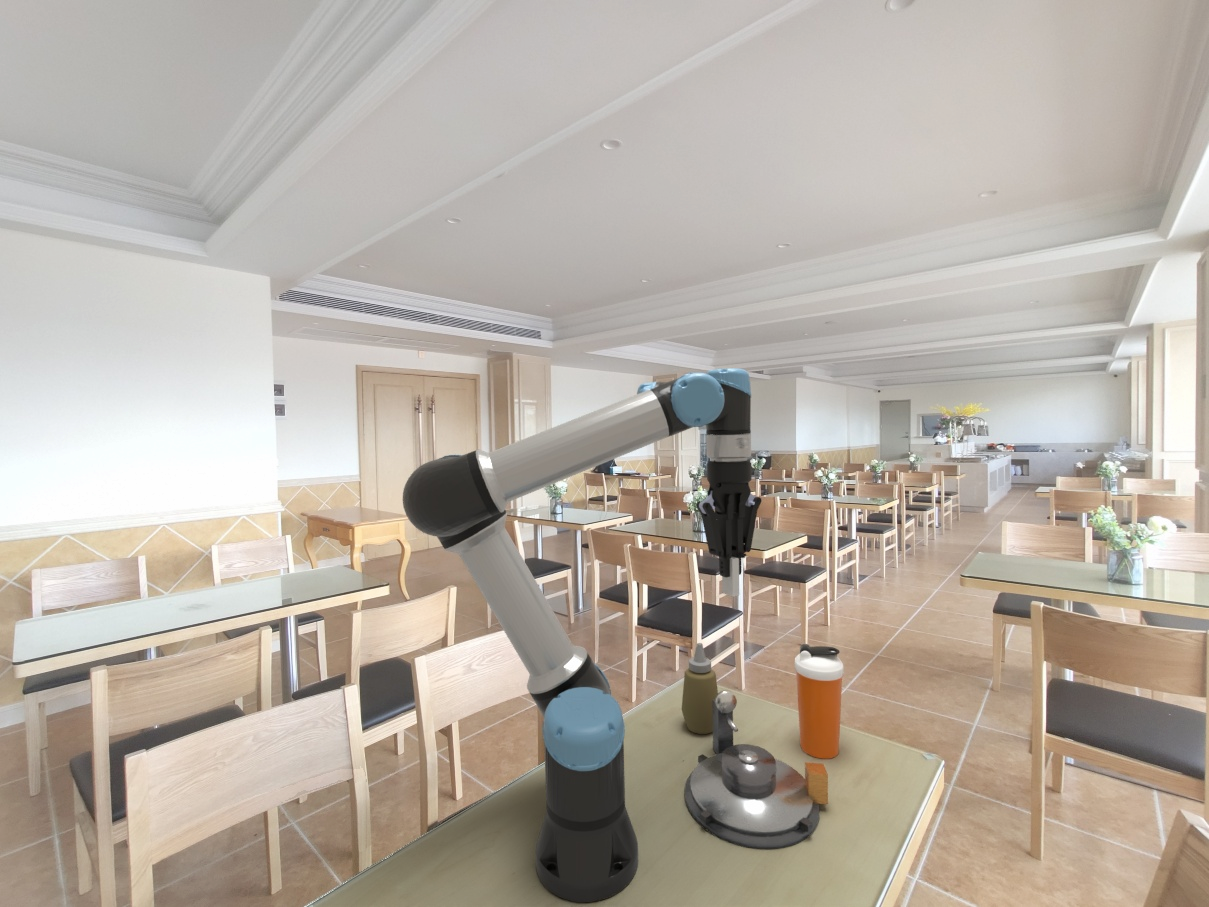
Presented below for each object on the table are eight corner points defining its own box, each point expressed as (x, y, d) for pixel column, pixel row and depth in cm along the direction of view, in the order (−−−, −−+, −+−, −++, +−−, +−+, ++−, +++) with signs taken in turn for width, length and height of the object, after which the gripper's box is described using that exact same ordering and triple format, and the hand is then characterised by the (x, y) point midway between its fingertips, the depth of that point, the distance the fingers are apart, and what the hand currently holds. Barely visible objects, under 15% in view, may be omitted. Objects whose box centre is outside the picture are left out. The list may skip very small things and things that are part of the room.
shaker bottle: (848, 764, 104) (848, 659, 103) (798, 759, 105) (797, 656, 104) (838, 737, 112) (838, 641, 111) (792, 734, 114) (791, 638, 113)
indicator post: (726, 773, 102) (725, 704, 101) (710, 749, 110) (709, 684, 109) (746, 770, 102) (745, 702, 102) (729, 746, 110) (728, 682, 110)
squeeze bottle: (692, 713, 123) (691, 634, 122) (726, 724, 118) (725, 641, 118) (674, 730, 117) (673, 646, 116) (710, 742, 112) (709, 654, 111)
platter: (842, 842, 83) (842, 810, 82) (691, 830, 86) (690, 798, 86) (812, 762, 102) (812, 735, 102) (690, 754, 106) (689, 729, 105)
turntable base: (693, 849, 84) (693, 842, 84) (678, 761, 106) (678, 756, 106) (841, 849, 83) (841, 842, 83) (794, 760, 105) (794, 755, 105)
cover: (779, 801, 90) (779, 773, 90) (723, 796, 92) (722, 769, 91) (772, 767, 99) (771, 742, 99) (720, 764, 100) (720, 739, 100)
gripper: (713, 462, 89) (715, 606, 90) (772, 458, 95) (774, 593, 97) (685, 460, 96) (687, 594, 97) (742, 456, 102) (744, 583, 103)
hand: (730, 593), depth 97 cm, fingers closed
